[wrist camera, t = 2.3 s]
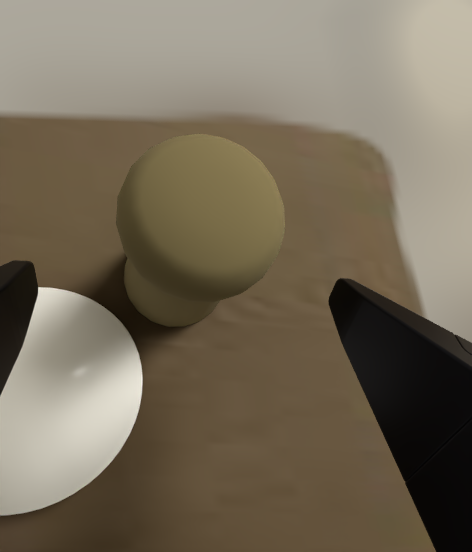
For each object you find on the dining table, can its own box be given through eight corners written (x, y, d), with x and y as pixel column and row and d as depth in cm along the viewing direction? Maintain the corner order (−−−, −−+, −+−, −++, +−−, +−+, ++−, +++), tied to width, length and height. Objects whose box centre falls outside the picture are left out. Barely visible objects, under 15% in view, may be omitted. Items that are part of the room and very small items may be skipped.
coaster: (32, 548, 14) (23, 566, 13) (-145, 408, 14) (-171, 415, 12) (180, 373, 18) (183, 376, 16) (44, 253, 17) (37, 247, 16)
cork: (129, 335, 17) (104, 329, 7) (118, 232, 18) (79, 89, 8) (232, 318, 19) (336, 293, 9) (217, 225, 20) (294, 101, 10)
